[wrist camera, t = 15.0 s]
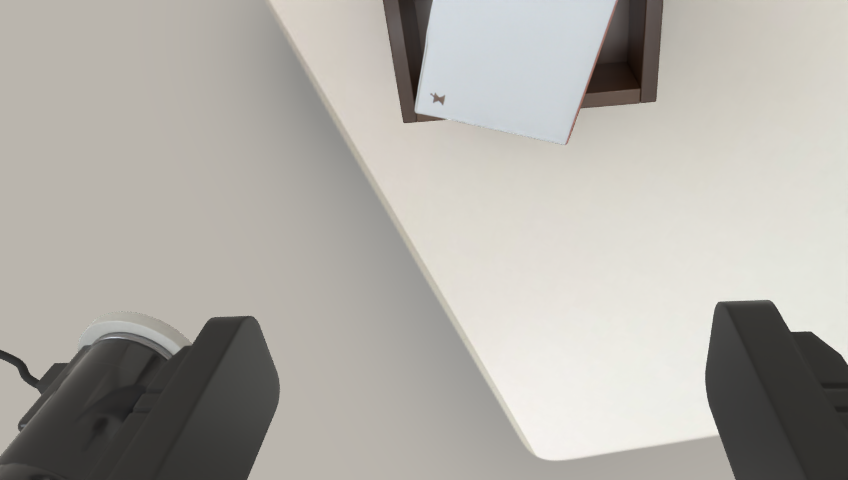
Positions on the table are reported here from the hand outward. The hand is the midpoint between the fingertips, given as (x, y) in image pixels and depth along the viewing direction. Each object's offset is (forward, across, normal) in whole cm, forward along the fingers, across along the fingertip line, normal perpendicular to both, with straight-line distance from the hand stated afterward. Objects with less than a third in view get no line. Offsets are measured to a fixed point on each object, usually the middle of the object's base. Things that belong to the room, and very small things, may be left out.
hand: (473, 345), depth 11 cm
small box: (+27, -1, -2) cm, 27 cm away
